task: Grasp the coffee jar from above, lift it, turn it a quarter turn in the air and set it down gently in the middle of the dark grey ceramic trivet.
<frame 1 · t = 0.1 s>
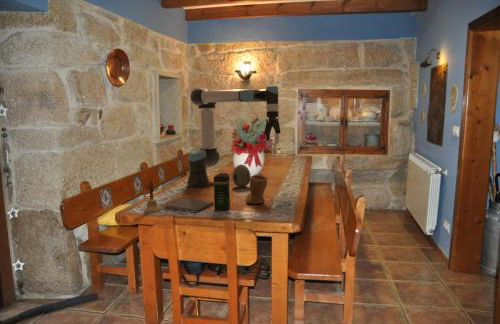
hand: (272, 144, 244), 28 cm above the table, tool pointing down, fingers open, 13 cm apart
coffee jar: (222, 208, 202), on the table
decorative egg: (241, 187, 251), on the table
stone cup: (256, 202, 214), on the table
hand bell: (152, 210, 201), on the table
trivet: (190, 206, 207), on the table
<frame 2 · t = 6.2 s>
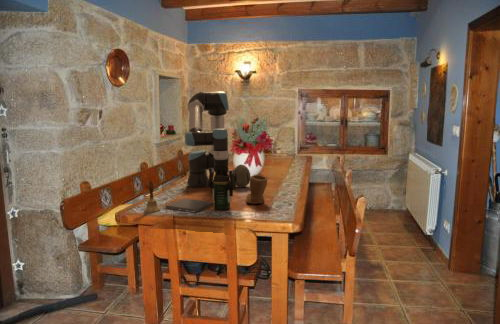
hand: (222, 201, 201), 4 cm above the table, tool pointing down, fingers closed on coffee jar, 8 cm apart
coffee jar: (222, 208, 202), on the table, touching gripper
everything else where it was.
when the fingers open (7 cm above the table, at t = 13.8 s): coffee jar drops 1 cm, resting on trivet.
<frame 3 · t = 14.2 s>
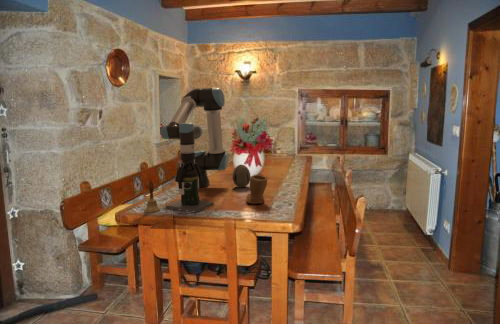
hand: (189, 191, 205), 8 cm above the table, tool pointing down, fingers open, 13 cm apart
coffee jar: (190, 203, 207), point 1 cm above the table, touching trivet
everything else where it was.
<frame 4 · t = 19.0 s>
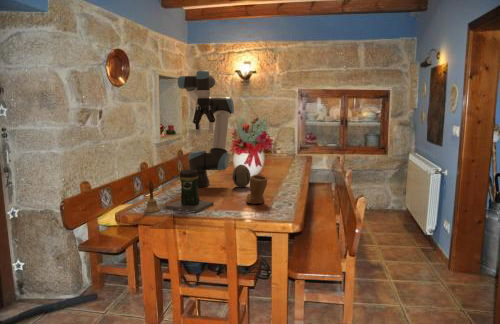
hand: (204, 134, 226), 37 cm above the table, tool pointing down, fingers open, 13 cm apart
nothing on the table moved.
at the end: coffee jar inside the target area on the trivet (0.3 cm from its centre), point 1.3 cm above the trivet's base; coffee jar tilted 0°; the gripper is holding nothing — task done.
